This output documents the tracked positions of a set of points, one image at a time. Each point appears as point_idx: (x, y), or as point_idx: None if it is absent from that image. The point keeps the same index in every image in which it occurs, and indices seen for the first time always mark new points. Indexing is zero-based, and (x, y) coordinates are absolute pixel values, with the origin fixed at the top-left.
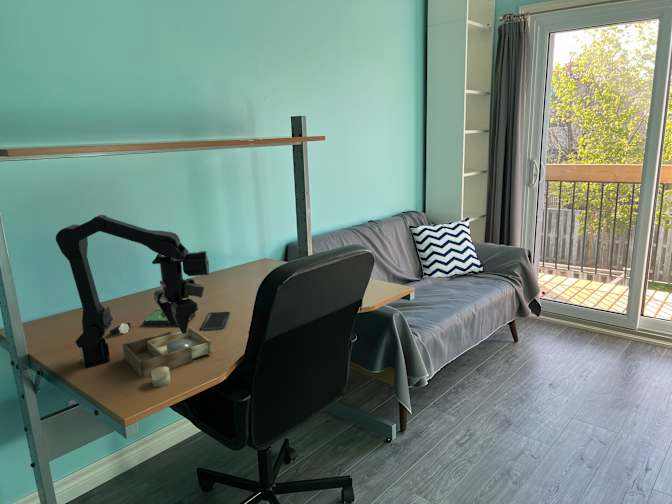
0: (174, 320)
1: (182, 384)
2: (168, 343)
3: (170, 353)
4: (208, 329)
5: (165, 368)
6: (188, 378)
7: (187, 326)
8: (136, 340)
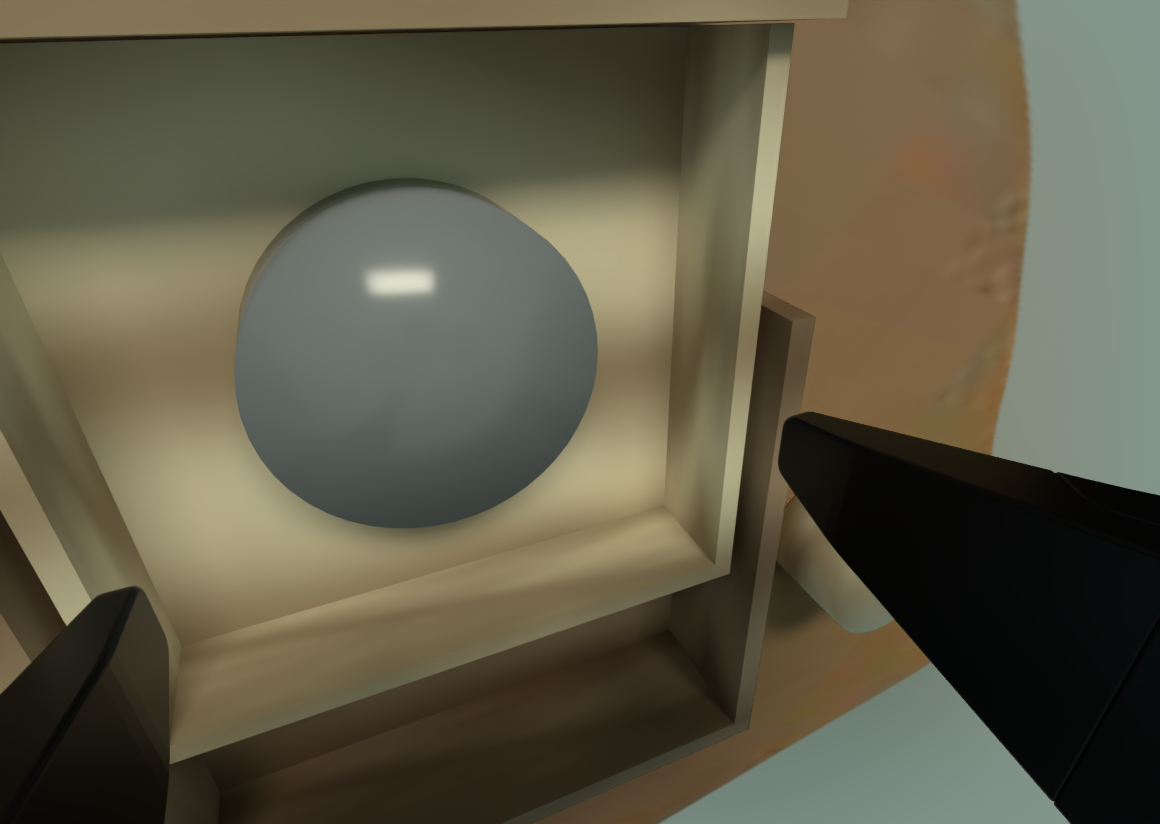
0: (120, 638)
1: (932, 410)
2: (323, 507)
3: (776, 530)
4: None
5: None
6: (904, 360)
7: (942, 445)
8: None
